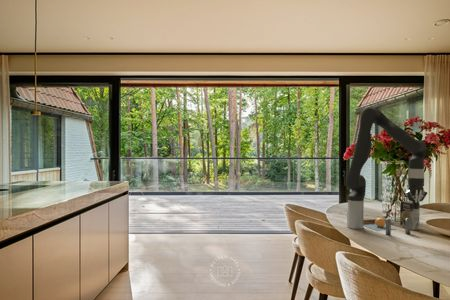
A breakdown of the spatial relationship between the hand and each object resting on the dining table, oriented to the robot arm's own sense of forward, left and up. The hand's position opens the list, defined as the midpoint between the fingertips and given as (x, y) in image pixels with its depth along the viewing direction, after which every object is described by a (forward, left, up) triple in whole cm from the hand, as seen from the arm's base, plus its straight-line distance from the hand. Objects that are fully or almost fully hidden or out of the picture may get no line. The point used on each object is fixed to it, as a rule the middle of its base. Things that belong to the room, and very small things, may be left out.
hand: (415, 209), depth 176 cm
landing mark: (-30, 0, -17) cm, 34 cm away
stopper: (-41, 0, -17) cm, 44 cm away
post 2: (-13, +7, -17) cm, 22 cm away
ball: (-30, +1, -14) cm, 33 cm away
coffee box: (-26, +19, -17) cm, 37 cm away
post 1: (-13, -6, -17) cm, 22 cm away
